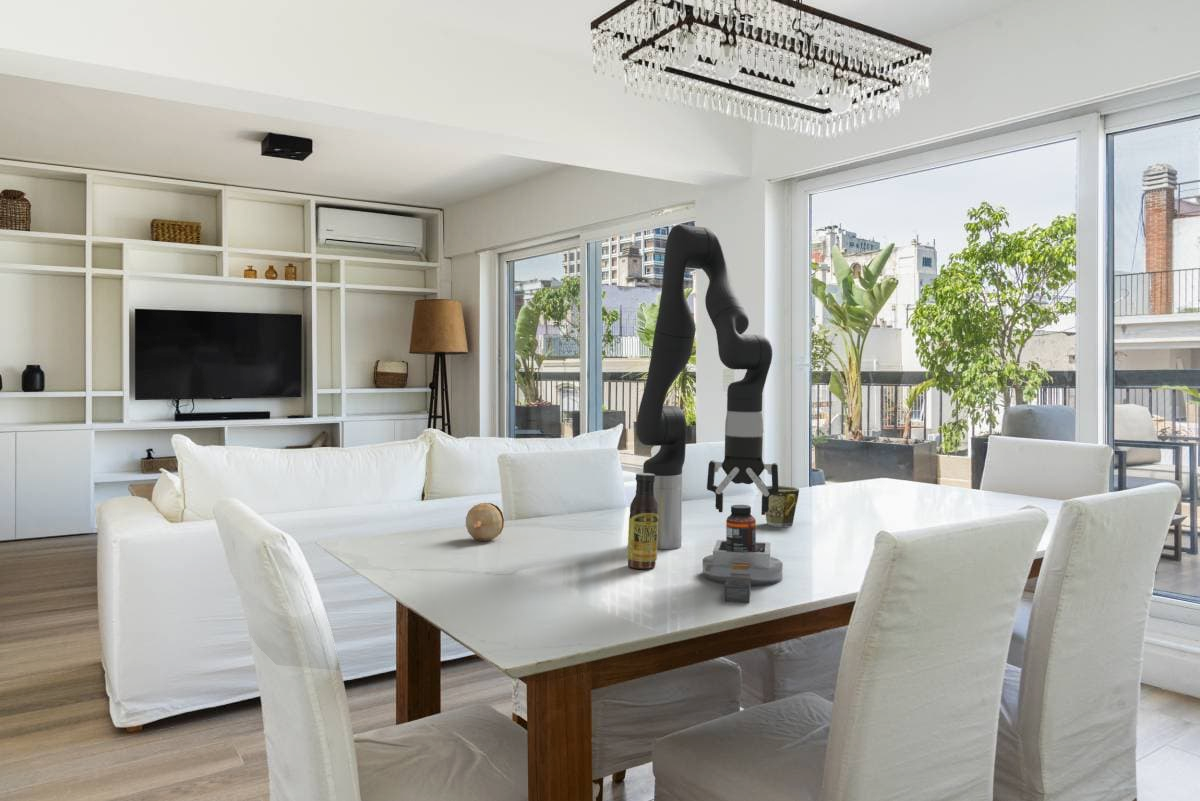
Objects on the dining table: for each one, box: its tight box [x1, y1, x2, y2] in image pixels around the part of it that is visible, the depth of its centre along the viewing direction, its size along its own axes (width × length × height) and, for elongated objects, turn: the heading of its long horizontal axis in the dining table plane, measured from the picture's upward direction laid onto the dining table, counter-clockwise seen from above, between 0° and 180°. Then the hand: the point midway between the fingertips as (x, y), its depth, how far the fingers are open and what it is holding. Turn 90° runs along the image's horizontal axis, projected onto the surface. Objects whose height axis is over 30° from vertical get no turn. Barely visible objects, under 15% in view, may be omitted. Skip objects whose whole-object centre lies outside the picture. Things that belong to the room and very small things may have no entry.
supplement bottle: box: [725, 504, 757, 552], centre depth 169 cm, size 6×6×11 cm
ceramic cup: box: [761, 485, 800, 528], centre depth 224 cm, size 13×10×10 cm
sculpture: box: [465, 502, 505, 542], centre depth 202 cm, size 9×9×15 cm
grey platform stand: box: [702, 539, 784, 604], centre depth 163 cm, size 16×28×6 cm, turn 168°
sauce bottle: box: [627, 472, 658, 570], centre depth 176 cm, size 7×6×20 cm
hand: (742, 513), depth 169 cm, fingers open, 8 cm apart
